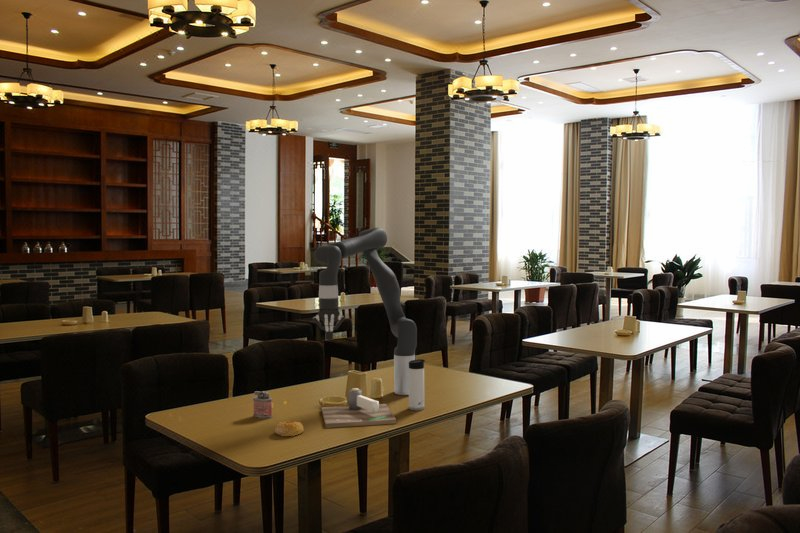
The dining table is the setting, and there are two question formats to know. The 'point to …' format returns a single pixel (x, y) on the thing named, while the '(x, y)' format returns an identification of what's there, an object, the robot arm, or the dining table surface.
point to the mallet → (362, 401)
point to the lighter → (262, 405)
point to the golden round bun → (289, 428)
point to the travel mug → (416, 384)
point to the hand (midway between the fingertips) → (329, 340)
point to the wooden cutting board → (356, 416)
